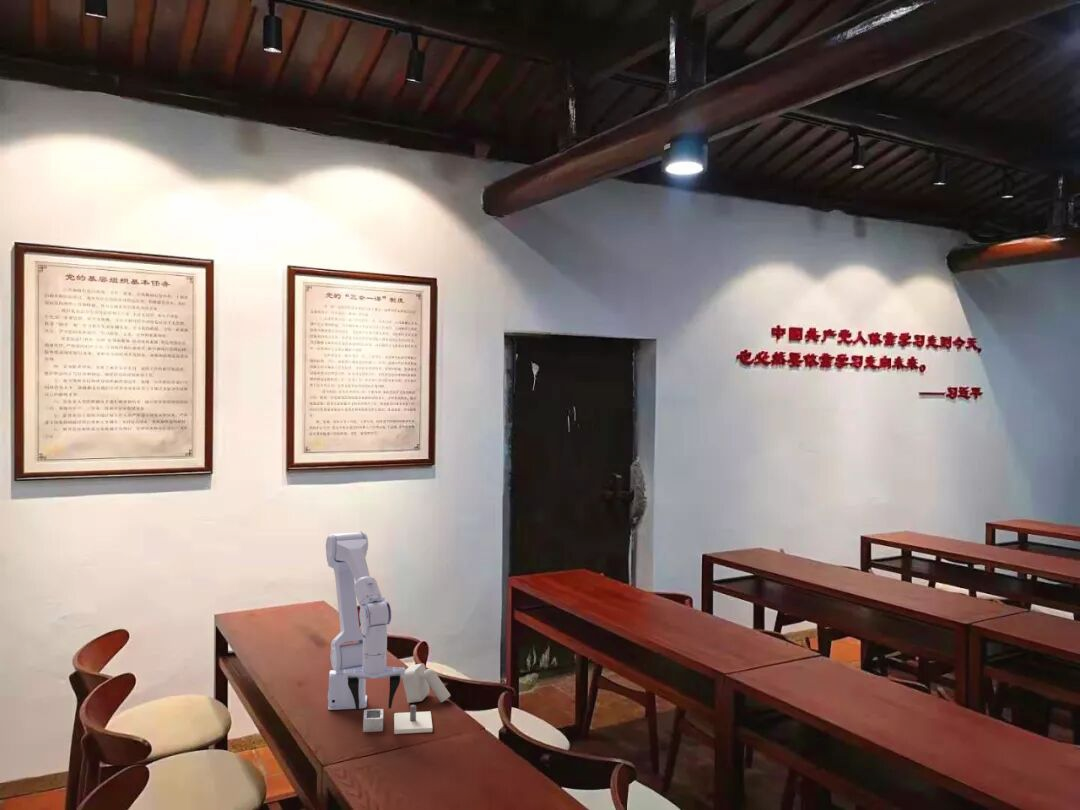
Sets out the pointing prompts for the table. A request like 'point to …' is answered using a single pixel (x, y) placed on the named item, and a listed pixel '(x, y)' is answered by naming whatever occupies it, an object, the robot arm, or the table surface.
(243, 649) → the table surface
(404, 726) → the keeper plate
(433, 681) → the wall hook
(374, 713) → the hollow square tube
